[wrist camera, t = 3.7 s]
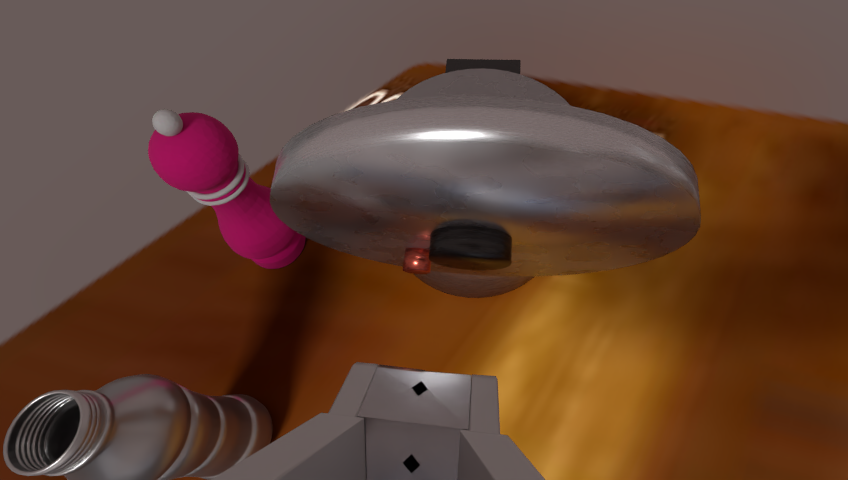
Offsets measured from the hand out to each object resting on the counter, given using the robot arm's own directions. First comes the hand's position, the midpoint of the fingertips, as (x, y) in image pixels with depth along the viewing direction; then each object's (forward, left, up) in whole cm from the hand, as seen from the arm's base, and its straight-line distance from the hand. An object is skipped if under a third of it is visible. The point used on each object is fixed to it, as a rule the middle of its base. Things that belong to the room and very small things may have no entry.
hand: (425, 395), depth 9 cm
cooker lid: (-1, -10, -9) cm, 13 cm away
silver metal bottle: (+18, +3, -30) cm, 36 cm away
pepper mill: (+20, -16, -30) cm, 40 cm away
